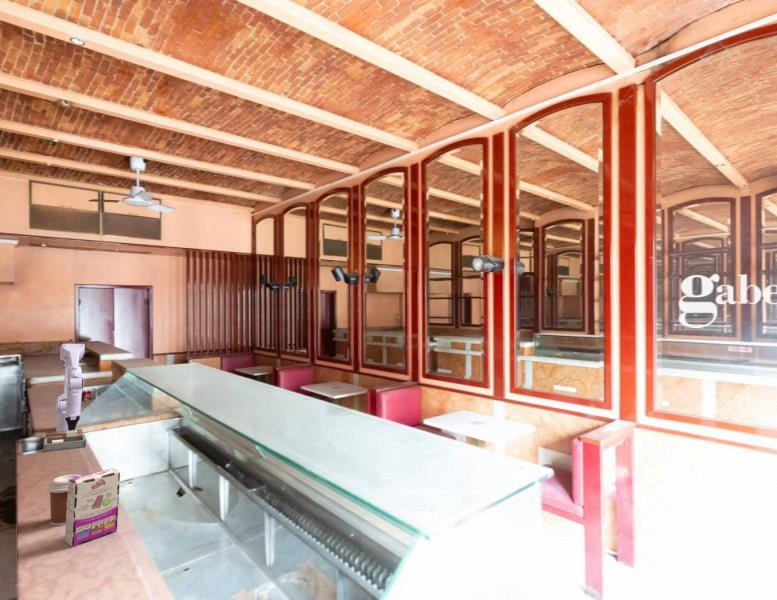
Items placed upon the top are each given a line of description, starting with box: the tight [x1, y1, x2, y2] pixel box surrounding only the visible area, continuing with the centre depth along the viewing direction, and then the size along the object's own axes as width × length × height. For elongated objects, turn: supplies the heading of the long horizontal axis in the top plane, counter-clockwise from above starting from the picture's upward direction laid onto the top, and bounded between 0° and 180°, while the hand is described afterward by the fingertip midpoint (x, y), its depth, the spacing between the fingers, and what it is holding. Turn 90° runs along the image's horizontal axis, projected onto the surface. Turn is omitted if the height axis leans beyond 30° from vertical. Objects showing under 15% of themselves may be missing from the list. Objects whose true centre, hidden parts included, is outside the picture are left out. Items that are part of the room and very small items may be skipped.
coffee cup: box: [46, 473, 82, 527], centre depth 128 cm, size 9×9×12 cm
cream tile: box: [52, 439, 63, 443], centre depth 197 cm, size 4×4×2 cm
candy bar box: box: [64, 468, 121, 548], centre depth 119 cm, size 11×5×16 cm, turn 148°
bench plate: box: [45, 428, 84, 444], centre depth 209 cm, size 14×14×2 cm
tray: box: [43, 433, 87, 453], centre depth 198 cm, size 12×15×3 cm
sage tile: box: [66, 429, 78, 437], centre depth 206 cm, size 4×4×2 cm
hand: (71, 432), depth 209 cm, fingers closed
